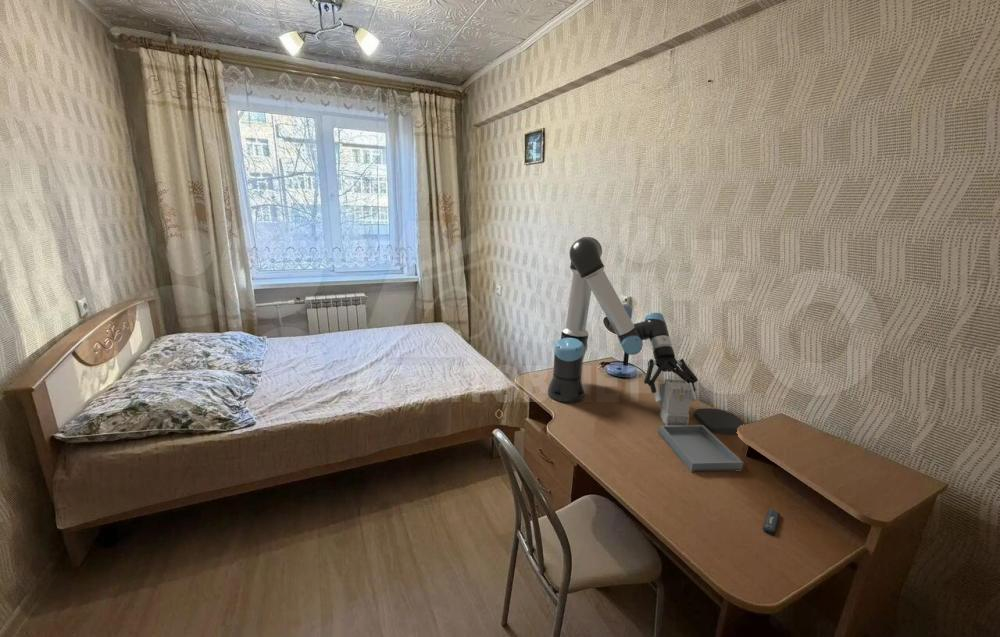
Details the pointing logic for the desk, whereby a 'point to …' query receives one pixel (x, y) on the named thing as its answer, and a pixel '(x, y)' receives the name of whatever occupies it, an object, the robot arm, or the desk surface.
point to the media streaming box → (718, 420)
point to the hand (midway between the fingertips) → (676, 400)
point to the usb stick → (771, 522)
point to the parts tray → (699, 448)
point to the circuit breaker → (675, 402)
